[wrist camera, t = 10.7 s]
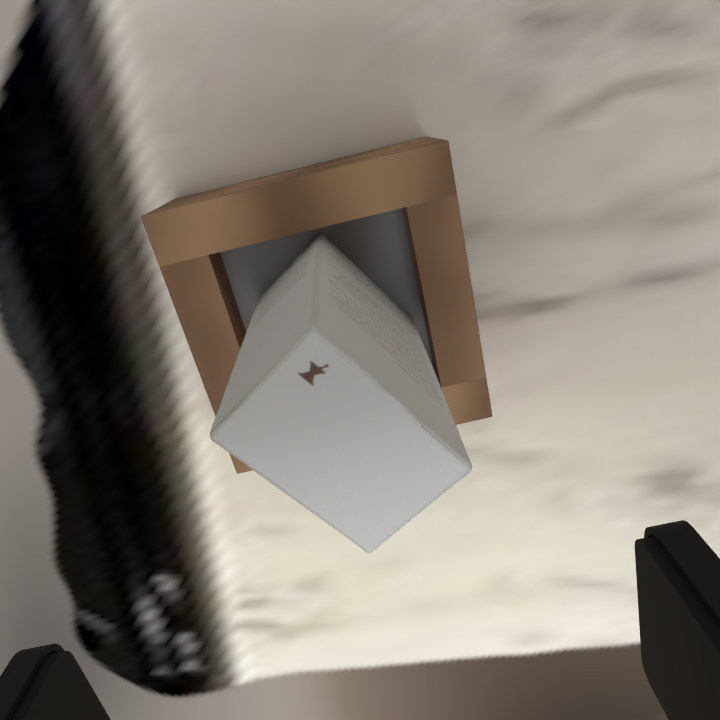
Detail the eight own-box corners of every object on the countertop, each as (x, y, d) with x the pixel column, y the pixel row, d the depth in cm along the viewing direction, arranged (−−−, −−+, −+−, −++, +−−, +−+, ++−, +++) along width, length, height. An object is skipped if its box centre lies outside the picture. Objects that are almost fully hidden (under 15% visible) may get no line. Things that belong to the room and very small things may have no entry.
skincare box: (255, 299, 26) (198, 435, 15) (320, 229, 25) (312, 319, 14) (354, 384, 28) (369, 562, 16) (418, 321, 26) (481, 467, 15)
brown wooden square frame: (426, 136, 26) (448, 140, 22) (467, 370, 31) (492, 416, 26) (174, 199, 27) (140, 216, 22) (251, 419, 32) (237, 473, 27)
